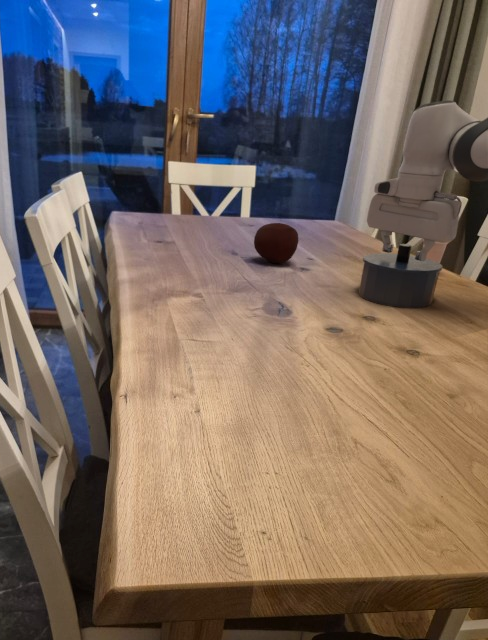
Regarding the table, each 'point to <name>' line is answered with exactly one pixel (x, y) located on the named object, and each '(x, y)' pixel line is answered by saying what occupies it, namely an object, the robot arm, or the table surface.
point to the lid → (402, 261)
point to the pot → (397, 287)
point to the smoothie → (436, 251)
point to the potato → (276, 242)
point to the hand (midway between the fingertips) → (403, 256)
